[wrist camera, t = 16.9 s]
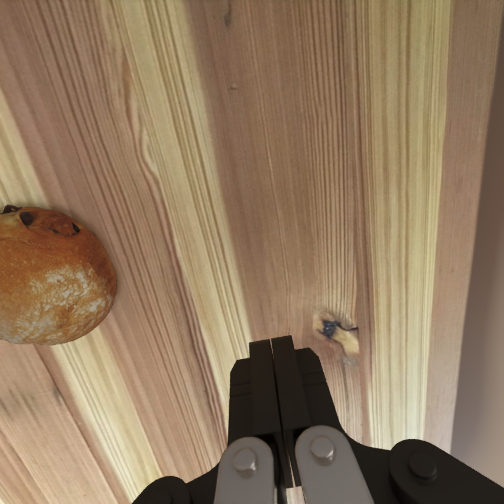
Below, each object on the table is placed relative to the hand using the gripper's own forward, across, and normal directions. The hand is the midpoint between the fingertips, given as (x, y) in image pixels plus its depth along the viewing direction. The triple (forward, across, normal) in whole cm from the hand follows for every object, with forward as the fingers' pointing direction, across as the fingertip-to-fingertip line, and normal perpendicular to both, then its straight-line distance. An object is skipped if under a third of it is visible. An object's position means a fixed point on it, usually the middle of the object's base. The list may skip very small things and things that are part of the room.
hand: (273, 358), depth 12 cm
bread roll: (+14, +16, 0) cm, 22 cm away
